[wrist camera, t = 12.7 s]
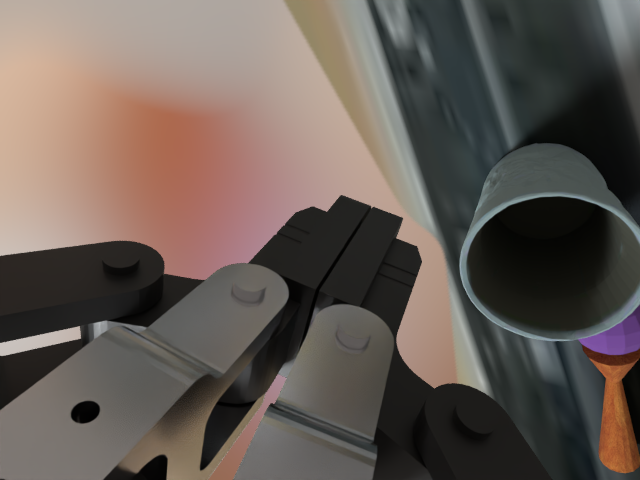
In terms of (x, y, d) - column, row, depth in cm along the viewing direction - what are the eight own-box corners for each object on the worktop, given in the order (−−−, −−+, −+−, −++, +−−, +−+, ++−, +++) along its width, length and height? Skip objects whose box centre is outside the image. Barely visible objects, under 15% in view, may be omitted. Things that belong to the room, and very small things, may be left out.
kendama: (579, 475, 45) (558, 307, 36) (586, 424, 49) (568, 261, 40) (657, 495, 41) (655, 313, 32) (658, 437, 45) (655, 263, 37)
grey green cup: (456, 160, 39) (434, 225, 29) (594, 107, 34) (623, 164, 24) (501, 264, 42) (495, 355, 32) (635, 230, 37) (676, 325, 27)
